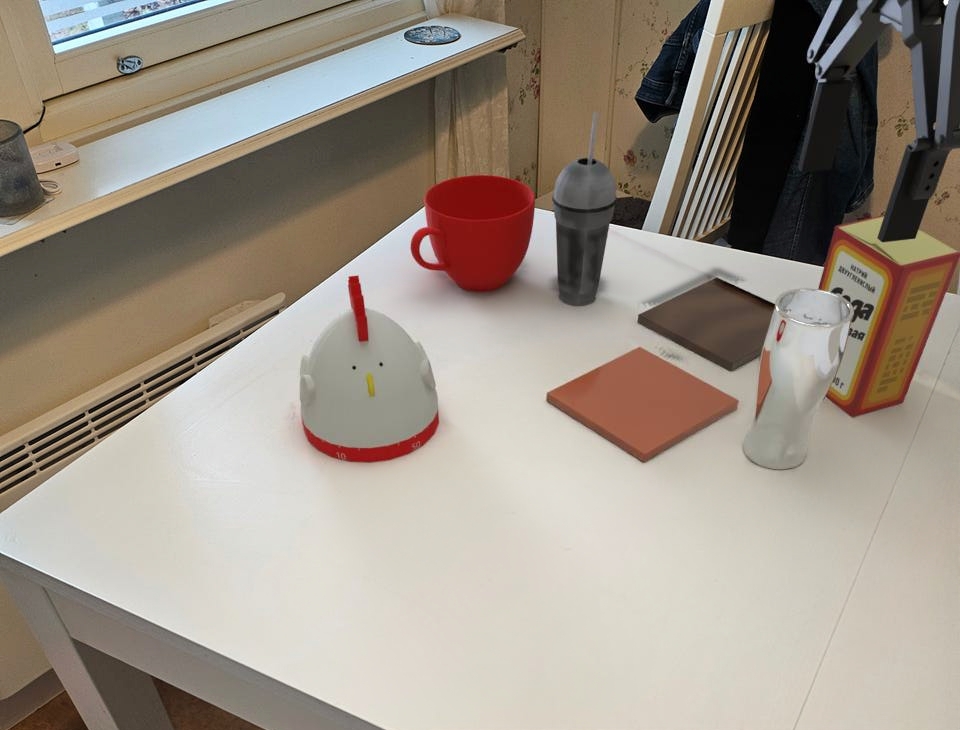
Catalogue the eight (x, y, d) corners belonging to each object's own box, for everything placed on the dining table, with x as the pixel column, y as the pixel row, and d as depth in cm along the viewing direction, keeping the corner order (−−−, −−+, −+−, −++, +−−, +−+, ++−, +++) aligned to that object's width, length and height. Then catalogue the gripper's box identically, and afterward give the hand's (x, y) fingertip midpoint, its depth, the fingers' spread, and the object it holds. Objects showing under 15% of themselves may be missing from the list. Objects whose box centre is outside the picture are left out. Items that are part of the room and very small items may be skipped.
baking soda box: (795, 371, 97) (836, 222, 86) (843, 358, 99) (891, 209, 87) (852, 417, 92) (905, 263, 80) (903, 402, 93) (962, 249, 81)
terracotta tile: (737, 408, 93) (739, 400, 92) (643, 462, 87) (645, 454, 86) (638, 354, 100) (639, 346, 99) (545, 400, 94) (546, 392, 94)
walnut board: (810, 328, 103) (812, 320, 103) (731, 371, 98) (732, 363, 97) (716, 284, 111) (717, 276, 110) (637, 322, 105) (638, 314, 104)
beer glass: (738, 426, 91) (772, 283, 80) (809, 434, 90) (854, 290, 79) (737, 468, 86) (773, 323, 75) (811, 476, 85) (859, 330, 74)
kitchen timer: (309, 470, 87) (281, 327, 76) (298, 392, 96) (272, 254, 85) (450, 451, 89) (443, 307, 77) (427, 376, 98) (418, 238, 86)
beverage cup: (535, 300, 109) (542, 118, 94) (567, 276, 112) (578, 98, 98) (588, 317, 106) (603, 132, 91) (618, 292, 110) (637, 111, 95)
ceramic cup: (383, 289, 111) (375, 206, 103) (483, 246, 118) (482, 165, 111) (452, 328, 104) (449, 242, 97) (554, 279, 112) (558, 196, 105)
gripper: (808, -174, 64) (746, 148, 80) (1020, -111, 47) (888, 278, 63) (905, -178, 65) (824, 141, 80) (1145, -118, 48) (984, 267, 64)
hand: (852, 202), depth 72 cm, fingers open, 13 cm apart
